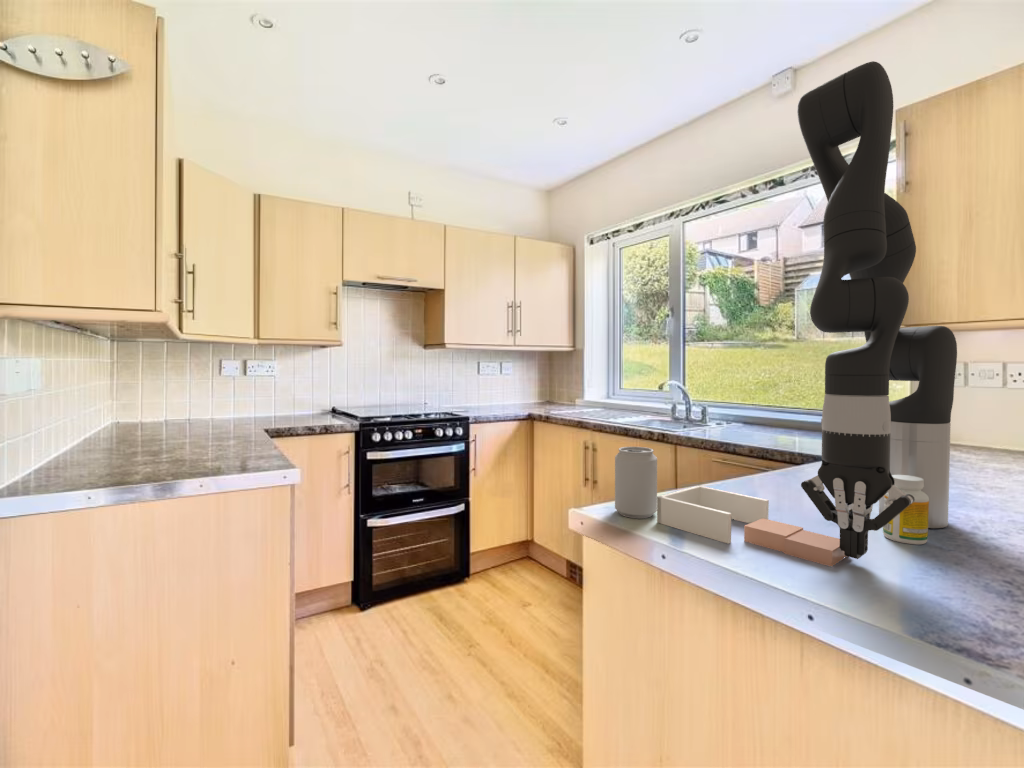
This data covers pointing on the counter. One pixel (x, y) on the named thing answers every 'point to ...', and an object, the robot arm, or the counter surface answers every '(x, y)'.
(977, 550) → the counter surface
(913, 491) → the supplement bottle
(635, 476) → the can
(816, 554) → the tile
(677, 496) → the white u-shaped bracket
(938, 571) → the counter surface
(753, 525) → the tile
